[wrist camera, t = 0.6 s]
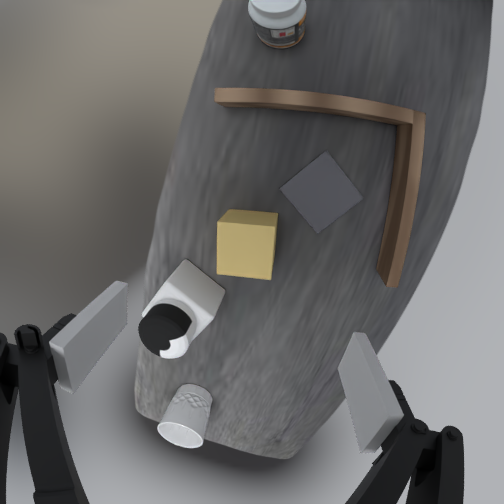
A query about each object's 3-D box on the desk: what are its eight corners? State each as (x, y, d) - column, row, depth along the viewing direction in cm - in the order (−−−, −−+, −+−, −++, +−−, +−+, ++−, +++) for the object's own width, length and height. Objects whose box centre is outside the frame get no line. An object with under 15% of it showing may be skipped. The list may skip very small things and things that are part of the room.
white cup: (201, 412, 51) (188, 451, 42) (168, 392, 50) (150, 430, 41) (224, 397, 49) (211, 440, 39) (188, 374, 47) (170, 416, 38)
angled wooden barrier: (408, 116, 29) (425, 113, 24) (386, 269, 36) (397, 287, 31) (225, 95, 31) (215, 88, 26) (220, 253, 38) (210, 269, 34)
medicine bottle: (160, 290, 42) (122, 338, 31) (186, 257, 39) (148, 301, 28) (198, 320, 43) (171, 374, 31) (227, 290, 40) (203, 344, 29)
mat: (367, 156, 31) (368, 156, 31) (357, 237, 35) (357, 238, 35) (282, 145, 32) (282, 145, 32) (276, 229, 36) (275, 230, 36)
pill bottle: (310, 44, 27) (316, 11, 18) (263, 54, 28) (252, 24, 19) (296, 7, 25) (296, -33, 16) (250, 17, 27) (235, -20, 17)
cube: (278, 212, 35) (275, 226, 30) (274, 258, 38) (270, 279, 32) (229, 208, 36) (217, 221, 30) (227, 254, 38) (216, 274, 33)
